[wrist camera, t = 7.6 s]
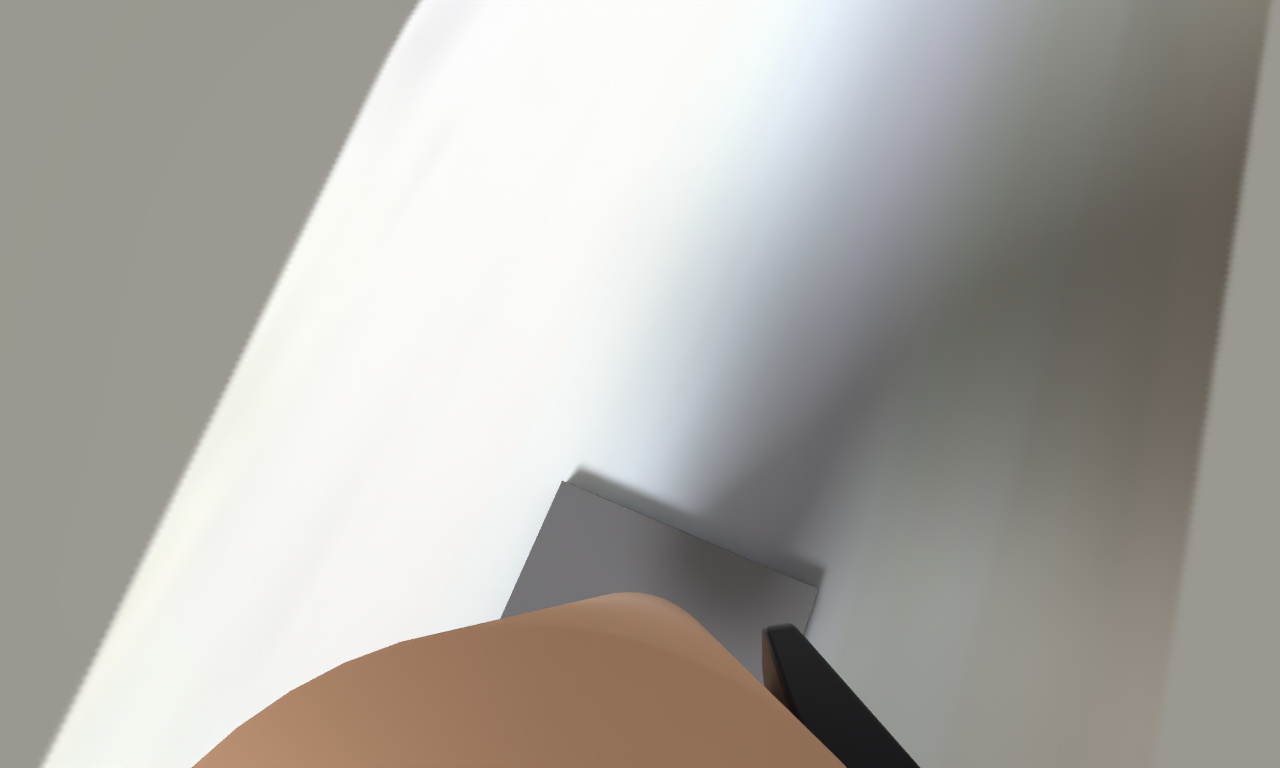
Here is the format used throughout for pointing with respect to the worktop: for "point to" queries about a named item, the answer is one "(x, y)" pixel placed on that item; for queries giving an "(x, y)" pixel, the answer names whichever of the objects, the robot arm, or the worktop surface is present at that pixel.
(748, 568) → the mat
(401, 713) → the peg
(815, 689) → the robot arm
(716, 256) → the worktop surface
